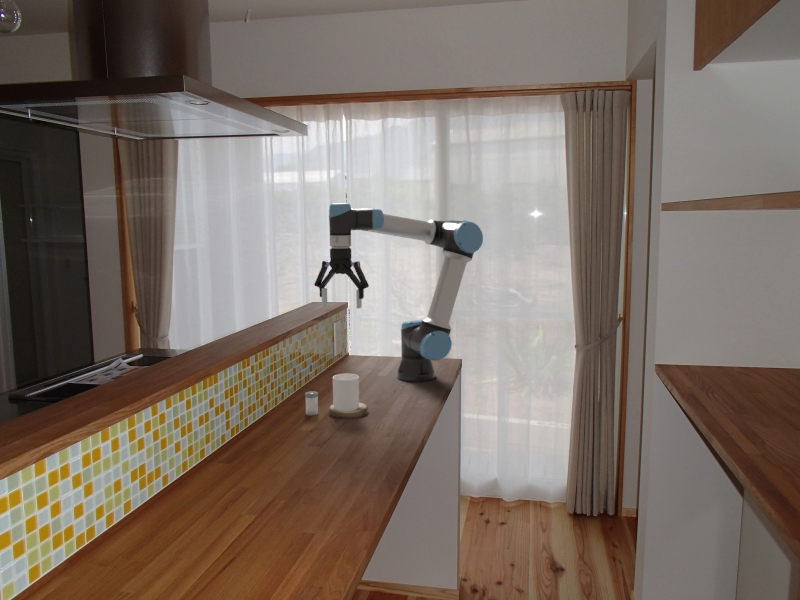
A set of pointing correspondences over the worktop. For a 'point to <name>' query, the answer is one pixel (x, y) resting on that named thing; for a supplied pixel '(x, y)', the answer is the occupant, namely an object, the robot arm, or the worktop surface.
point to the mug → (346, 392)
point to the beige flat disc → (349, 412)
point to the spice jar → (311, 403)
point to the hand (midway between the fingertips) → (341, 307)
